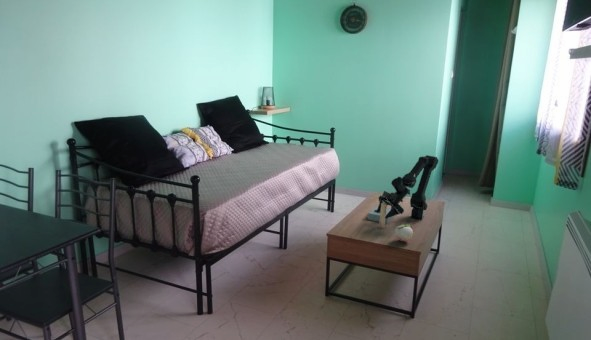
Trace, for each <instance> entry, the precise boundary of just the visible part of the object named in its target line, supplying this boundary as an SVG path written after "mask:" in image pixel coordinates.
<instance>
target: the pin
mask: <svg viewBox="0 0 591 340" xmlns="http://www.w3.org/2000/svg"><path fill="white" fill-rule="evenodd" d="M387 206H388V205H387V204H386V203H381V213H380V222H379V226H378V227H379V228H380V229H384V228H385V225H386V223H385V217H386V208H388V207H387Z"/></svg>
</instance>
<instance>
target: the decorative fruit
mask: <svg viewBox="0 0 591 340" xmlns="http://www.w3.org/2000/svg"><path fill="white" fill-rule="evenodd" d="M411 227H412V226H411V225H410V224H402V225H399V226H396V228H395V230H394V234H395V237H396V238H397V239H398V240H399V241H400V242H406V241H408V240H410V239H411V238H412V237H413V235H414V234H413V233H414V232H413V228H411Z"/></svg>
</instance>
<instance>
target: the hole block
mask: <svg viewBox="0 0 591 340" xmlns="http://www.w3.org/2000/svg"><path fill="white" fill-rule="evenodd" d="M378 206H379V205H376V206H374V207H373V208H372V209H371V210H370V211H368V213H367V220H369V221H374V222H378V223H380V213H381V211H380V212H379V213H376V211H377V209H378ZM390 210H391V207H390V208H388V207H386V215H387V214H388V213H389V211H390ZM394 217H395V216H392V217H389V218H387V219H386V218H385V224H388V223H389V222H390V221H391V220H392V219H393V218H394Z"/></svg>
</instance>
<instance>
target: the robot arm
mask: <svg viewBox="0 0 591 340" xmlns="http://www.w3.org/2000/svg"><path fill="white" fill-rule="evenodd" d="M438 164H439V159H438V156H433V155H425V156H423V155H422V156H420V157H418V160H417V161H416V163H415V165H414V166H413V167H412V169H410V171H409V172H408V173H406V174H404V176H402V177H401V176H397V177H396V178H393V179H392V181H391V186H392V187H393V189H394V190H395V192H389V191H386V190H384V191H383V193H382V195H379V197H378V202H379V204H378V205H377V206H378V209H377V211H376V213H379V212H380V211H381V203H386V204H387V206H390V209H391V210H390V211H389V213H388V214H387V215H386V217H385V218H386V219H387V218H389V217H392V216H394V217H395V216H398V215H403V214H404V212H405V209H404V207H402V206H401V205H400V203H403V202H404V200H403V199H404V198H405V197H406V196H408V195H411V189H413V188H414V187H415V185H416V183H417V178H418V177H419V175H420V173H421V172H422V173H421V176H420V180H419V183H418V186H417V189H416V190H415V192H413V193H412V195H411V197H410V201H409V202H410V203H409V204H410V208H412V209H411V212H410V213H411V214H410V217H411V219H416V220H421V221H422V220H423V219H424V217H425V216H424V214H425V211H426V210H427V208H428V204H427V200H426V199H427V197H426V191H427V188H428V184H429V181H430V178H431V174H432V172H433V171H434V170H435V169H436V168H437V165H438Z"/></svg>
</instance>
